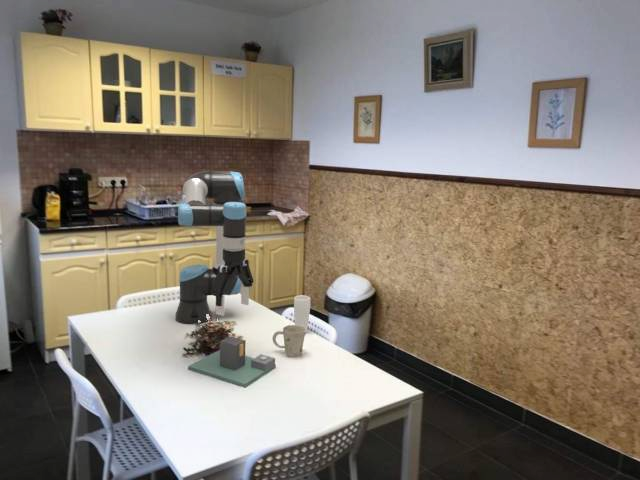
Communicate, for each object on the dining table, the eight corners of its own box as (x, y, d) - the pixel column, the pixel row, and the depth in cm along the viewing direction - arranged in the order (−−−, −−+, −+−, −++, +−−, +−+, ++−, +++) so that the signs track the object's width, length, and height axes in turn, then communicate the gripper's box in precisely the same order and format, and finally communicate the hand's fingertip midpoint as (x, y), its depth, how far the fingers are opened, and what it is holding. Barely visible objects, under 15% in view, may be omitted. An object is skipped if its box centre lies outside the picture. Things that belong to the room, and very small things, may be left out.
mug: (301, 359, 189) (302, 333, 187) (268, 355, 191) (269, 329, 189) (306, 351, 197) (307, 326, 195) (274, 347, 199) (275, 322, 197)
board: (188, 369, 176) (188, 357, 176) (221, 352, 192) (221, 341, 191) (245, 387, 165) (245, 375, 165) (275, 367, 181) (276, 356, 180)
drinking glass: (308, 335, 213) (310, 300, 210) (292, 334, 213) (293, 299, 210) (309, 329, 219) (310, 295, 217) (293, 328, 220) (294, 294, 217)
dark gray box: (219, 365, 177) (219, 341, 176) (229, 360, 182) (230, 336, 181) (236, 371, 174) (237, 345, 173) (246, 365, 179) (246, 340, 177)
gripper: (219, 257, 160) (218, 322, 164) (264, 244, 182) (262, 302, 186) (200, 253, 163) (200, 317, 168) (246, 241, 185) (245, 298, 189)
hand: (233, 309), depth 177 cm, fingers open, 13 cm apart
